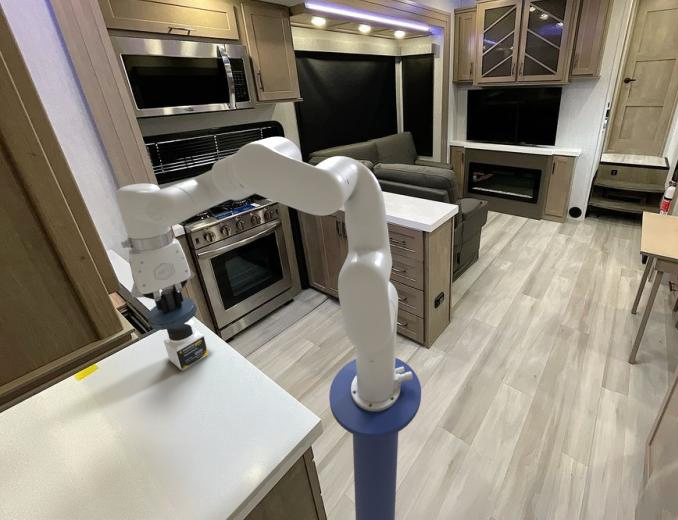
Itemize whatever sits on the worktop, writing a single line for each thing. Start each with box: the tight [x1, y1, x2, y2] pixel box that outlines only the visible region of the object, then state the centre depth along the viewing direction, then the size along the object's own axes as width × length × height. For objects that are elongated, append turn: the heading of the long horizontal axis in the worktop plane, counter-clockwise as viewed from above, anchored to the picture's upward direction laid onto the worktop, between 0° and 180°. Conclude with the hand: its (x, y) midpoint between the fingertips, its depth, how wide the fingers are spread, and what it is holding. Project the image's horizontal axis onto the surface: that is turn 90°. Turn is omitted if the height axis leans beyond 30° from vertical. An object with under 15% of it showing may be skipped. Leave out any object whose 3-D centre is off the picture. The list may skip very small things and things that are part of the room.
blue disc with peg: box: [147, 288, 198, 331], centre depth 77 cm, size 9×9×7 cm
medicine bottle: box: [163, 318, 209, 371], centre depth 88 cm, size 7×7×12 cm
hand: (171, 307), depth 77 cm, fingers closed on blue disc with peg, 2 cm apart
